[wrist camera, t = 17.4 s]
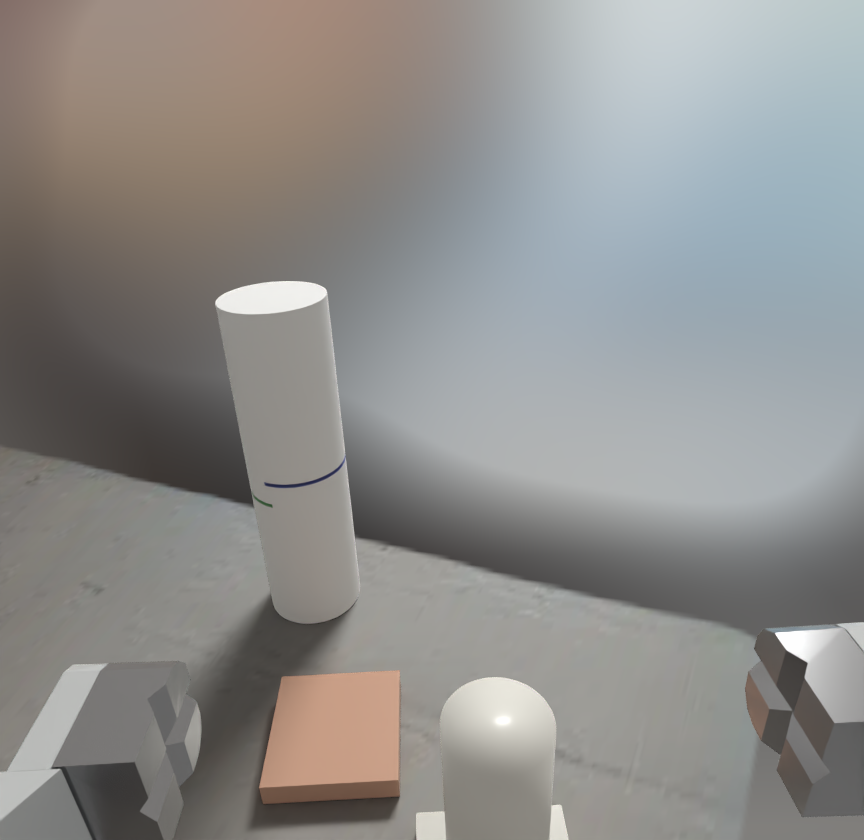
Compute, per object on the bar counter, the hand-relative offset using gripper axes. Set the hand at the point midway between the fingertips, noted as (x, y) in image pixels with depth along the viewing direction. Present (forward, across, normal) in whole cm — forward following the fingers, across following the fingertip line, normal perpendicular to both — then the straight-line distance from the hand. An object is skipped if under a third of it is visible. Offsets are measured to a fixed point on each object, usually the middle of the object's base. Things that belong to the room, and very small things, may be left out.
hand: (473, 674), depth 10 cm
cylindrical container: (+36, +10, +30) cm, 48 cm away
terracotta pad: (+22, +7, +30) cm, 38 cm away
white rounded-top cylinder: (+12, -2, +28) cm, 31 cm away
